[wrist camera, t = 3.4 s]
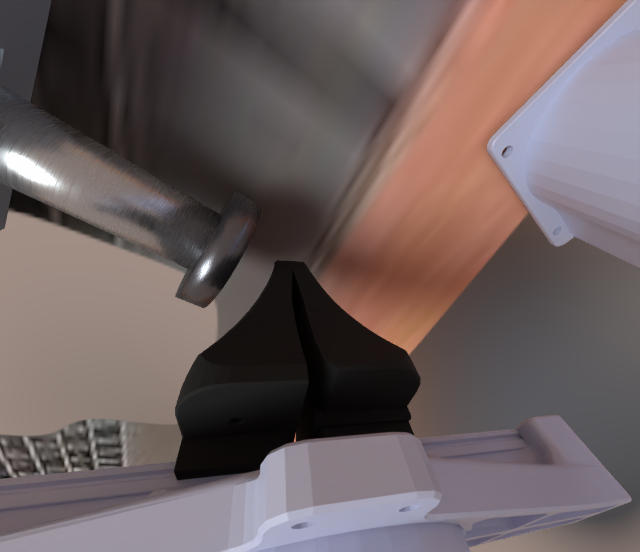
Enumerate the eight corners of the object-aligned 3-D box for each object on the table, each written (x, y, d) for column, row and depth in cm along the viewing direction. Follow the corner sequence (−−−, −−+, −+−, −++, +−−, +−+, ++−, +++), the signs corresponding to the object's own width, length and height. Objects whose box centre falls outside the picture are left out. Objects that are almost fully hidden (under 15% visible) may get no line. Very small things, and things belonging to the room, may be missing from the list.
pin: (263, 190, 11) (257, 239, 8) (214, 263, 13) (190, 332, 9) (-19, -5, 7) (-337, -107, 3) (-35, 141, 9) (-256, 178, 5)
